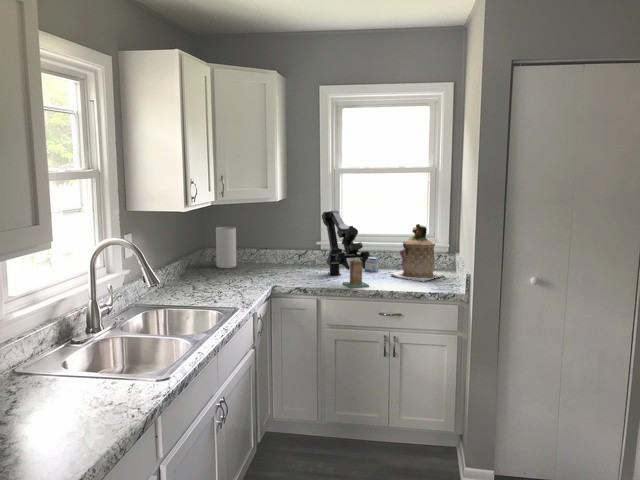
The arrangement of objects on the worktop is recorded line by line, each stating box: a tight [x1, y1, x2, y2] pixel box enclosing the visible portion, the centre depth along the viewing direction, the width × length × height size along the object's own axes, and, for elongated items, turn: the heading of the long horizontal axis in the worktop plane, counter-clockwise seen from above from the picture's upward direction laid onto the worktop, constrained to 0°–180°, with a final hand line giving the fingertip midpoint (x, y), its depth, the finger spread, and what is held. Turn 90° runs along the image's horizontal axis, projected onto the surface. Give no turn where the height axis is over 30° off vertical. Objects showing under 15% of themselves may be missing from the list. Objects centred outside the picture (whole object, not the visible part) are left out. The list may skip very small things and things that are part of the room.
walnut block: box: [349, 259, 363, 285], centre depth 300 cm, size 5×5×12 cm
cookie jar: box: [389, 223, 445, 283], centre depth 324 cm, size 25×25×32 cm
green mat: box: [342, 281, 370, 289], centre depth 301 cm, size 11×11×1 cm
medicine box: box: [363, 256, 380, 273], centre depth 340 cm, size 8×4×9 cm, turn 62°
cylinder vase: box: [215, 226, 237, 269], centre depth 350 cm, size 12×12×25 cm
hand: (356, 269), depth 299 cm, fingers open, 9 cm apart
